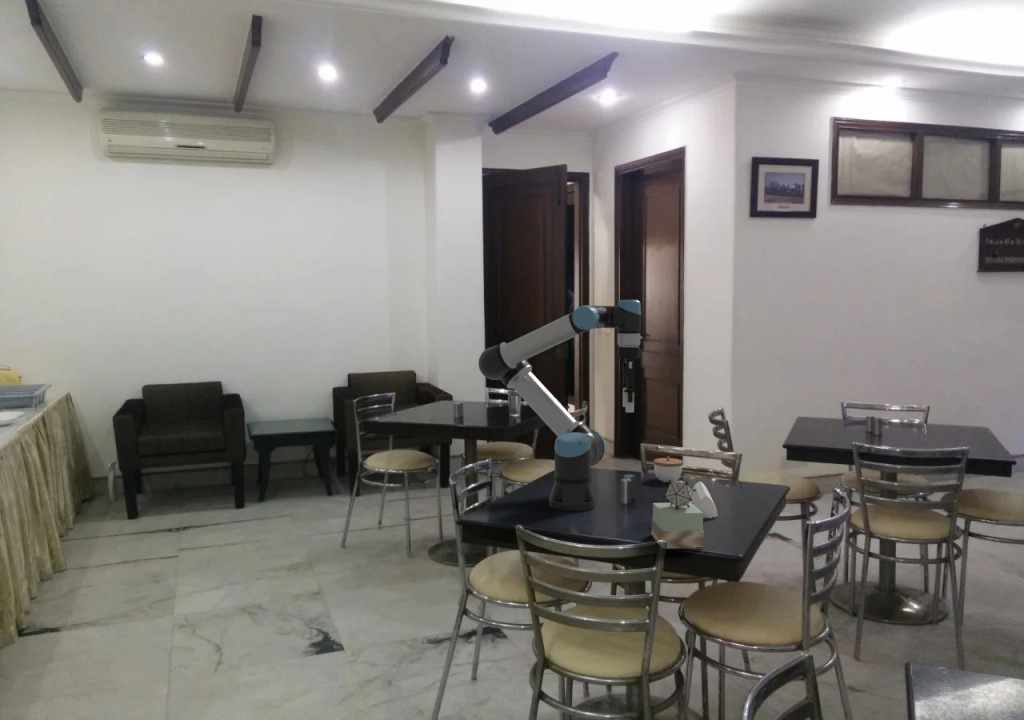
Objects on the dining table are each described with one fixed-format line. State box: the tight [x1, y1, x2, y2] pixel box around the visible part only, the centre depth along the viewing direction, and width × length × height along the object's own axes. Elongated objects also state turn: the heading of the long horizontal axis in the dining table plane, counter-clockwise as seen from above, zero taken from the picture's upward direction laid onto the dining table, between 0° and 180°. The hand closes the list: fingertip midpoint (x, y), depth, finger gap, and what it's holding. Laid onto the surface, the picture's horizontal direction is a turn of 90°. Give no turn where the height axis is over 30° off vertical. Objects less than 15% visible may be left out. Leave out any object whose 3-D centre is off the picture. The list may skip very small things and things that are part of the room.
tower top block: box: [652, 502, 704, 531], centre depth 210 cm, size 11×11×5 cm
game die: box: [662, 477, 696, 510], centre depth 210 cm, size 9×8×10 cm
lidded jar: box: [653, 456, 683, 483], centre depth 284 cm, size 11×11×9 cm
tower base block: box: [651, 518, 705, 549], centre depth 211 cm, size 12×12×5 cm
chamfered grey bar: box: [690, 481, 719, 519], centre depth 245 cm, size 7×7×24 cm
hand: (628, 409), depth 252 cm, fingers open, 13 cm apart
